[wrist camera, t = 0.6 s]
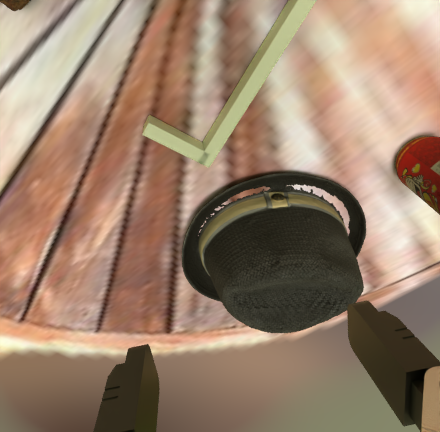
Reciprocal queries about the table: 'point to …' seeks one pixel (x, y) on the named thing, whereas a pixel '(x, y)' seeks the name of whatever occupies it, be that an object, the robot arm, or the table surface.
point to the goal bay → (235, 91)
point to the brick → (15, 4)
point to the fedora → (277, 253)
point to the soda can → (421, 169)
